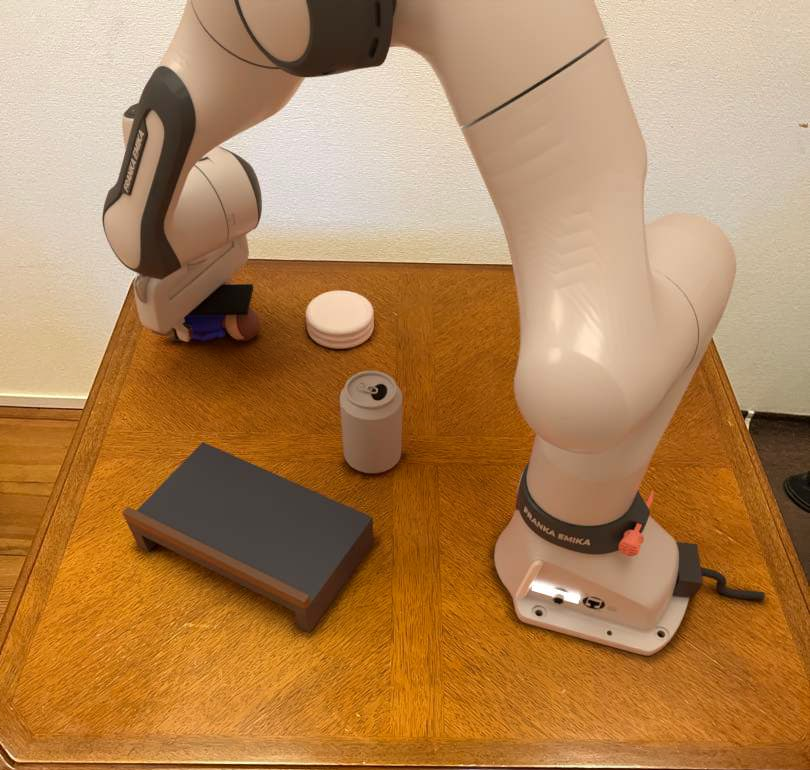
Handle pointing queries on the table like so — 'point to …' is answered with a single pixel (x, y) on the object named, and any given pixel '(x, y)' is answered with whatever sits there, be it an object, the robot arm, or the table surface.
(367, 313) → the coaster
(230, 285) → the figurine character
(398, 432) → the can
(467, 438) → the table surface
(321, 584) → the shelf
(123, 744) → the table surface
